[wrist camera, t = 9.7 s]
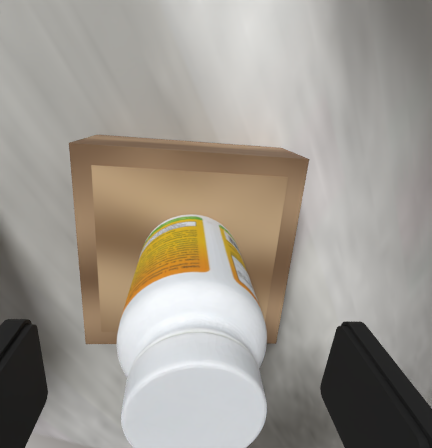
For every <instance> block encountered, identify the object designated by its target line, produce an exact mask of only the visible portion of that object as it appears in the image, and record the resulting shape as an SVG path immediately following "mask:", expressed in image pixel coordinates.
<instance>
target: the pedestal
mask: <svg viewBox="0 0 432 448" xmlns="http://www.w3.org/2000/svg"><path fill="white" fill-rule="evenodd" d="M69 150H70V162H71V174H72V186H73V197H74V209H75V221H76V233H77V245H78V257H79V269H80V281H81V293H82V305H83V317H84V328H85V340H86V344H117V334H118V329H119V324H120V320H121V316H122V313H123V310H124V307H125V303H126V300H127V297H128V293H129V290H130V287H131V284H132V280H133V277H134V274H135V271H136V267H137V264H138V261H139V257H140V254H141V251H142V248H143V246H144V243H145V241H146V239H147V238H148V236H149V235H150V233H151V232H152V231H153V230H154V229H155V228H156V227H157V226H158V225H160V224H161V223H162V222H164V221H166V220H168V219H170V218H173V217H176V216H180V215H190V214H193V215H201V216H206V217H209V218H211V219H213V220H215V221H217V222H219V223H220V224H222V225H223V226H224V227H225V228H226V229H227V230H228V231H229V232H230V234H231V235H232V236H233V238H234V240H235V242H236V244H237V246H238V249H239V251H240V254H241V257H242V260H243V263H244V265H245V268H246V271H247V273H248V275H249V278H250V281H251V284H252V287H253V290H254V292H255V295H256V298H257V300H258V303H259V305H260V308H261V311H262V314H263V317H264V321H265V324H266V330H267V343H276V340H277V335H278V329H279V324H280V318H281V312H282V307H283V301H284V296H285V290H286V285H287V279H288V274H289V268H290V263H291V257H292V252H293V246H294V240H295V235H296V229H297V224H298V218H299V213H300V207H301V202H302V196H303V191H304V185H305V180H306V174H307V168H308V163H309V159H307V158H305V157H302V156H300V155H297V154H295V153H293V152H290V151H288V150H285V149H283V148H275V147H261V146H247V145H233V144H219V143H205V142H191V141H177V140H163V139H149V138H136V137H122V136H108V135H94V136H91V137H88V138H84V139H81V140H77V141H74V142H70V143H69Z"/></svg>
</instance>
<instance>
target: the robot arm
mask: <svg viewBox="0 0 432 448" xmlns="http://www.w3.org/2000/svg"><path fill="white" fill-rule="evenodd" d="M320 390H321V395H322V398H323V401H324V403H325V405H326V407H327V409H328V412H329V414H330V416H331V418H332V420H333V423H334V425H335V427H336V429H337V431H338V434H339V436H340V438H341V440H342V442H343V445H344V447H345V448H432V409H431V407H430V406H429V405H428V403H427V402H426V401H425V400H424V398H423V397H422V396H421V395H420V393H419V392H418V391H417V390H416V388H415V387H414V386H413V384H412V383H411V382H410V381H409V379H408V378H407V377H406V376H405V374H404V373H403V372H402V371H401V369H400V368H399V367H398V365H397V364H396V363H395V362H394V360H393V359H392V358H391V357H390V355H389V354H388V353H387V352H386V350H385V349H384V348H383V347H382V345H381V344H380V343H379V341H378V340H377V339H376V338H375V336H374V335H373V334H372V333H371V331H370V330H369V329H368V328H367V326H366V325H365V324H364V323H363V322H343V323H342V325H341V326H338V327H337V329H336V333H335V336H334V340H333V343H332V347H331V350H330V354H329V357H328V361H327V365H326V368H325V372H324V375H323V379H322V382H321V387H320ZM47 394H48V389H47V383H46V377H45V371H44V365H43V359H42V353H41V348H40V342H39V336H38V330H37V326H36V325H32V324H31V321H30V320H27V319H8V320H5V321H4V322H3V323H2V324H1V326H0V448H25V446H26V444H27V442H28V439H29V437H30V435H31V433H32V431H33V429H34V427H35V424H36V422H37V420H38V418H39V416H40V414H41V411H42V409H43V407H44V405H45V403H46V399H47Z"/></svg>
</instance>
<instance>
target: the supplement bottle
mask: <svg viewBox="0 0 432 448" xmlns="http://www.w3.org/2000/svg"><path fill="white" fill-rule="evenodd" d="M266 345H267V330H266V324H265V321H264V317H263V314H262V311H261V308H260V305H259V303H258V300H257V298H256V295H255V292H254V290H253V287H252V284H251V281H250V278H249V275H248V273H247V271H246V268H245V265H244V263H243V260H242V257H241V254H240V251H239V249H238V246H237V244H236V242H235V240H234V238H233V236H232V235H231V234H230V232H229V231H228V230H227V229H226V228H225V227H224V226H223V225H222V224H220V223H219V222H217V221H215V220H213V219H211V218H209V217H206V216H201V215H193V214H190V215H180V216H176V217H173V218H170V219H168V220H166V221H164V222H162V223H161V224H160V225H158V226H157V227H156V228H155V229H154V230H153V231H152V232H151V233H150V235H149V236H148V238H147V239H146V241H145V243H144V246H143V248H142V251H141V254H140V257H139V261H138V264H137V267H136V271H135V274H134V277H133V280H132V284H131V287H130V290H129V293H128V297H127V300H126V303H125V307H124V310H123V313H122V316H121V320H120V324H119V329H118V334H117V353H118V358H119V362H120V365H121V368H122V370H123V371H124V373H125V375H126V377H127V378H128V379H127V383H126V388H125V394H124V400H123V406H122V411H121V424H122V429H123V432H124V435H125V437H126V439H127V440H128V442H129V443H130V444H131V446H132V447H133V448H246V447H248V446H249V445H250V444H251V443H252V442H253V441H254V440H255V439H256V437H257V436H258V434H259V433H260V432H261V430H262V428H263V425H264V423H265V419H266V415H267V401H266V396H265V392H264V388H263V384H262V380H261V374H260V370H259V368H260V366H261V364H262V362H263V359H264V356H265V352H266Z"/></svg>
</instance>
